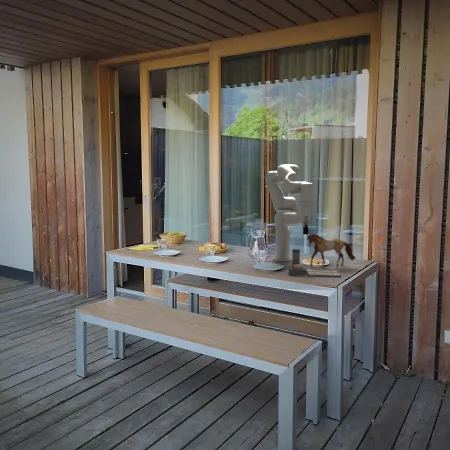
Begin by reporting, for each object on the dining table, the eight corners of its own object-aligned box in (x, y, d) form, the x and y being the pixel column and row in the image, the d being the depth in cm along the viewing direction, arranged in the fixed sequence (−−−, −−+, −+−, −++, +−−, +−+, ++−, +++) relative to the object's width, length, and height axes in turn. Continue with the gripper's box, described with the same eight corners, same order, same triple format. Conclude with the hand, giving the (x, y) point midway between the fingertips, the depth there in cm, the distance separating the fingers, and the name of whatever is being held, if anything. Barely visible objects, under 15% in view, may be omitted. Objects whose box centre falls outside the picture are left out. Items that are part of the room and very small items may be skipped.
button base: (289, 271, 273) (289, 265, 273) (304, 271, 273) (304, 266, 272) (290, 275, 264) (290, 269, 264) (306, 275, 264) (306, 269, 263)
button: (292, 268, 271) (293, 264, 271) (301, 268, 271) (301, 264, 270) (293, 270, 266) (293, 265, 266) (302, 270, 266) (302, 266, 265)
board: (305, 270, 276) (305, 268, 276) (336, 270, 275) (336, 269, 275) (308, 276, 261) (308, 275, 261) (341, 277, 260) (341, 275, 260)
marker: (291, 268, 282) (291, 248, 280) (299, 268, 282) (299, 248, 280) (292, 270, 277) (292, 250, 276) (299, 270, 277) (300, 250, 276)
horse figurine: (306, 268, 282) (307, 234, 279) (303, 265, 289) (303, 232, 287) (356, 267, 285) (357, 234, 282) (351, 264, 292) (352, 232, 290)
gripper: (300, 202, 281) (299, 230, 284) (300, 205, 264) (299, 235, 267) (312, 202, 280) (311, 231, 283) (313, 205, 263) (312, 235, 266)
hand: (305, 233), depth 275 cm, fingers open, 9 cm apart
